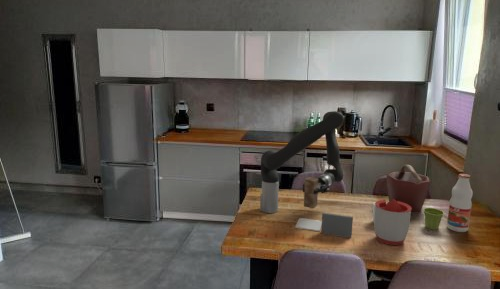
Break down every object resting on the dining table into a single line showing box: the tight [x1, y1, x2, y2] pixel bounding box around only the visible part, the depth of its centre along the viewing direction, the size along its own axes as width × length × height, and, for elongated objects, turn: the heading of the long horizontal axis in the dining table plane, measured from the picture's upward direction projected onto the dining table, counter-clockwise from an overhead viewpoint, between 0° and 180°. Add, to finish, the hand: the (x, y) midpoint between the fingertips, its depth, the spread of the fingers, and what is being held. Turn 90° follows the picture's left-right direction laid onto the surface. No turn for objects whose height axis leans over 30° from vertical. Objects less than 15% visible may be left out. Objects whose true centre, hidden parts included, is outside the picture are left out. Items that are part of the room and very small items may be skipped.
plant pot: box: [423, 207, 445, 231], centre depth 185 cm, size 9×9×9 cm
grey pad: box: [294, 217, 322, 233], centre depth 186 cm, size 12×12×1 cm
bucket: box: [386, 164, 431, 214], centre depth 210 cm, size 24×22×25 cm
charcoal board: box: [320, 212, 354, 239], centre depth 174 cm, size 14×2×10 cm, turn 72°
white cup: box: [372, 201, 388, 224], centre depth 190 cm, size 8×8×10 cm
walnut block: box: [303, 176, 319, 209], centre depth 183 cm, size 5×5×14 cm
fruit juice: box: [446, 173, 474, 233], centre depth 182 cm, size 9×9×28 cm
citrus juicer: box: [373, 199, 412, 246], centre depth 170 cm, size 16×17×20 cm
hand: (309, 191), depth 180 cm, fingers closed on walnut block, 5 cm apart
